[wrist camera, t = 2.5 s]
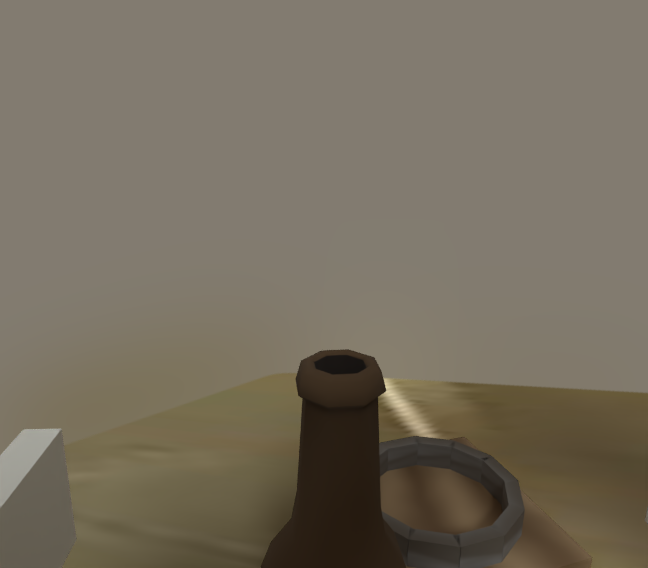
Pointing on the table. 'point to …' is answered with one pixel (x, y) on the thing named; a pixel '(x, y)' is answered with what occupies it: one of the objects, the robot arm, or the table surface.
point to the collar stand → (465, 510)
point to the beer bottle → (337, 470)
